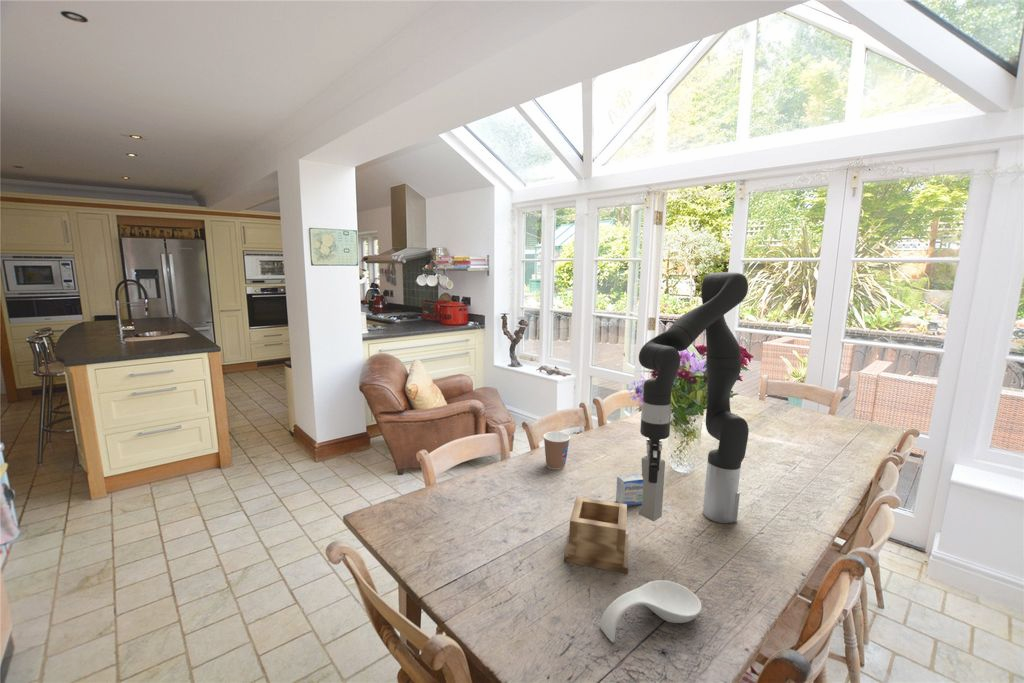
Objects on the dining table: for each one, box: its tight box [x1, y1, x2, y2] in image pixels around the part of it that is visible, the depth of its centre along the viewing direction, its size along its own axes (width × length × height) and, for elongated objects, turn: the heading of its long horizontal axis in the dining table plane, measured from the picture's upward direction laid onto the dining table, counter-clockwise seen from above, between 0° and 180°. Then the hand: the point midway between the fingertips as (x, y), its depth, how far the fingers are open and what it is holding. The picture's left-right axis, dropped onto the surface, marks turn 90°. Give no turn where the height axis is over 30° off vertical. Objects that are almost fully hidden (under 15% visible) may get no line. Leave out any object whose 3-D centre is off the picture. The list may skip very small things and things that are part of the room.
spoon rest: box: [599, 579, 702, 643], centre depth 97 cm, size 24×12×7 cm, turn 114°
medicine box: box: [615, 473, 643, 507], centre depth 146 cm, size 8×4×9 cm, turn 105°
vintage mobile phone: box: [638, 455, 666, 522], centre depth 123 cm, size 4×5×25 cm
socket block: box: [563, 496, 630, 574], centre depth 121 cm, size 16×15×11 cm
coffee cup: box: [543, 431, 571, 470], centre depth 172 cm, size 10×10×12 cm
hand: (652, 477), depth 123 cm, fingers closed on vintage mobile phone, 5 cm apart
